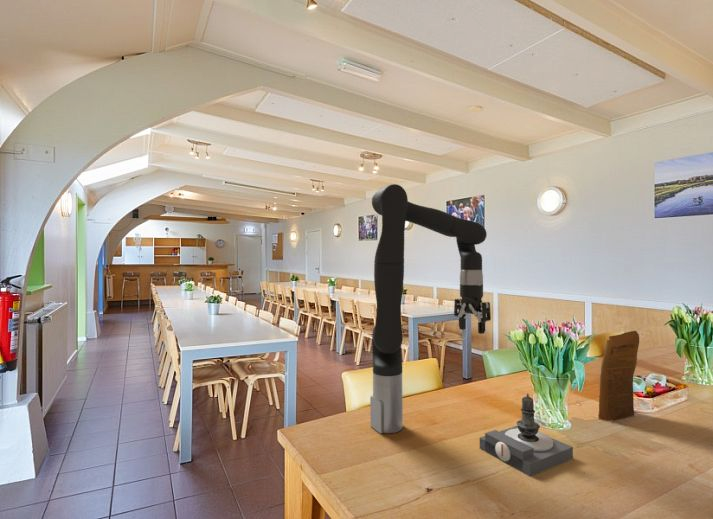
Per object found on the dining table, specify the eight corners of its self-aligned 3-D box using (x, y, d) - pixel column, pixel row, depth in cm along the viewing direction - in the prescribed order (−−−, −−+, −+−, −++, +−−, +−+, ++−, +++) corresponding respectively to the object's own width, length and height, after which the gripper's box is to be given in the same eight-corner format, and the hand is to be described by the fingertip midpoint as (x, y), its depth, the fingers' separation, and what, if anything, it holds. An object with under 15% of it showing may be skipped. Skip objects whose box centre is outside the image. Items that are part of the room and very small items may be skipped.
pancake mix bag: (648, 415, 129) (647, 331, 129) (608, 425, 122) (608, 336, 122) (627, 408, 136) (627, 328, 136) (589, 417, 129) (588, 332, 129)
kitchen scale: (529, 476, 94) (528, 456, 94) (478, 448, 108) (478, 430, 108) (572, 458, 102) (572, 439, 102) (520, 434, 116) (520, 417, 116)
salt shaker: (542, 443, 102) (542, 398, 102) (518, 441, 103) (518, 396, 103) (537, 433, 108) (536, 390, 108) (514, 432, 109) (514, 389, 109)
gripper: (448, 282, 135) (448, 329, 135) (479, 284, 123) (479, 336, 123) (464, 281, 139) (464, 327, 139) (496, 284, 127) (496, 333, 127)
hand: (471, 331), depth 131 cm, fingers open, 8 cm apart
